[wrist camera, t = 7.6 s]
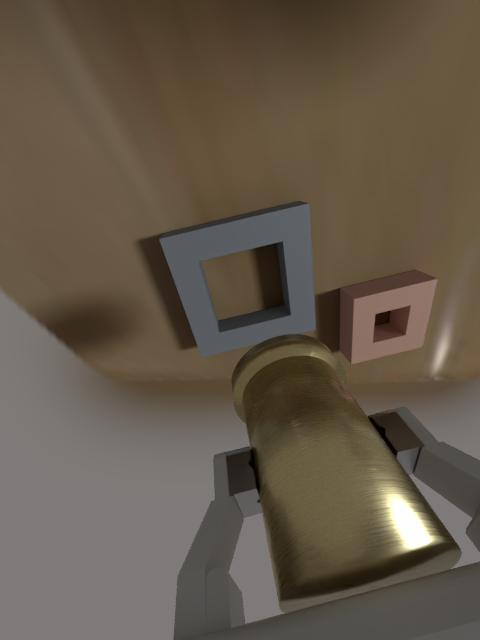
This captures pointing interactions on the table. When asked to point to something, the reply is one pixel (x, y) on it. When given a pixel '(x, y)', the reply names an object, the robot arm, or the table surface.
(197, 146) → the table surface
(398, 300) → the small socket
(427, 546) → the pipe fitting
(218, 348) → the socket block
